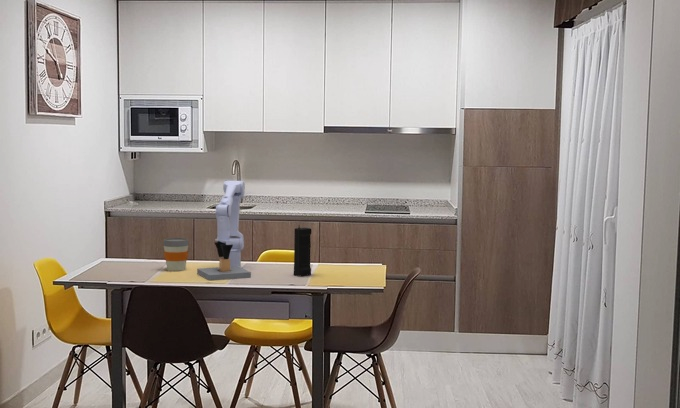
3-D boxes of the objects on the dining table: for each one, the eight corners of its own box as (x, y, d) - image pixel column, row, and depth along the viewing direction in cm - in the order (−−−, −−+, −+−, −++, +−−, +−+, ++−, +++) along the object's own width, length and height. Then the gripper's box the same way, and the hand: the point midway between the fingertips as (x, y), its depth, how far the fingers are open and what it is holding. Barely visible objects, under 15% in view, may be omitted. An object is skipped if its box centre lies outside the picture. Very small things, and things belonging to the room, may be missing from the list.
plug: (219, 275, 381) (219, 258, 381) (227, 274, 383) (227, 258, 382) (222, 276, 378) (222, 259, 377) (230, 275, 380) (230, 259, 379)
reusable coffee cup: (192, 267, 402) (191, 238, 401) (184, 272, 389) (184, 241, 388) (167, 267, 403) (167, 237, 402) (159, 271, 391) (159, 241, 389)
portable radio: (305, 273, 388) (305, 222, 386) (313, 274, 384) (313, 223, 381) (292, 275, 383) (292, 223, 381) (300, 276, 378) (300, 224, 376)
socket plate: (197, 273, 385) (197, 268, 384) (236, 270, 394) (236, 265, 393) (209, 280, 367) (209, 275, 367) (250, 277, 376) (250, 272, 376)
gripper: (210, 228, 383) (210, 256, 384) (220, 231, 370) (220, 260, 371) (224, 227, 386) (225, 255, 387) (234, 231, 373) (234, 259, 374)
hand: (223, 258), depth 380 cm, fingers open, 7 cm apart
